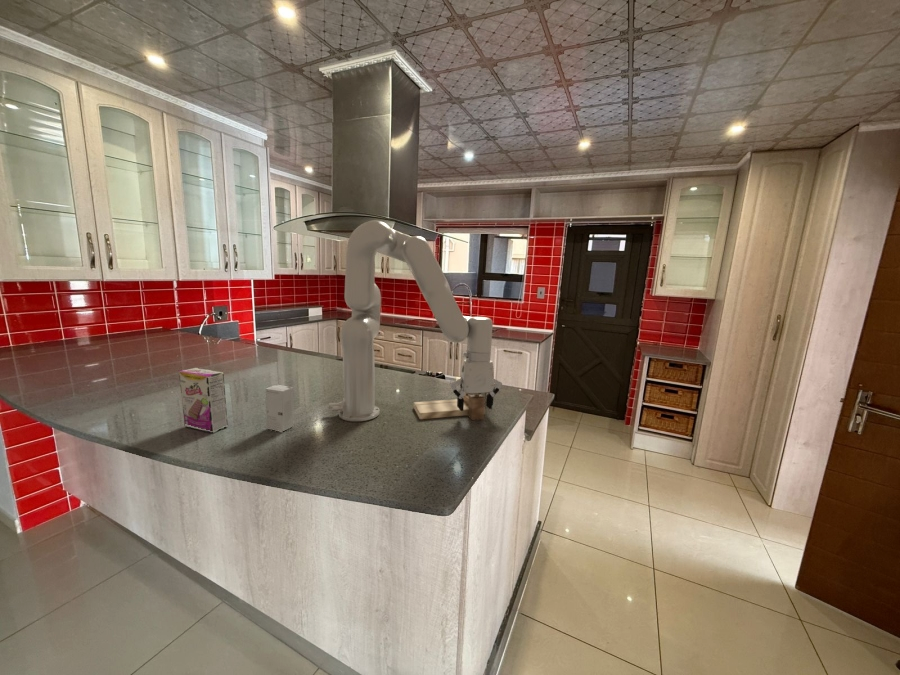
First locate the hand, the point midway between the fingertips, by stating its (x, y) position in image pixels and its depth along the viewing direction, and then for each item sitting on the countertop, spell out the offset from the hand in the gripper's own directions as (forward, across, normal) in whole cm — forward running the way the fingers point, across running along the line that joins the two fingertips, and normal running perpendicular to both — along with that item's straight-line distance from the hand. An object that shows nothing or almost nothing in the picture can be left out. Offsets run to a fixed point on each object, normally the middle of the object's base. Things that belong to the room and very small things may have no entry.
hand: (474, 408), depth 111 cm
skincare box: (+4, -57, +4) cm, 58 cm away
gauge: (+3, +1, +4) cm, 5 cm away
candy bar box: (+5, -77, +9) cm, 78 cm away
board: (+3, -6, +7) cm, 10 cm away
